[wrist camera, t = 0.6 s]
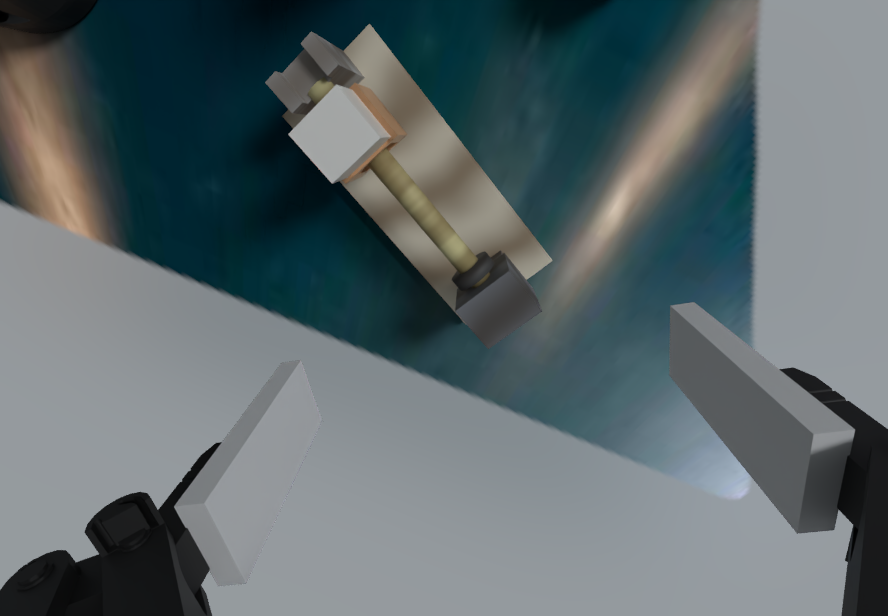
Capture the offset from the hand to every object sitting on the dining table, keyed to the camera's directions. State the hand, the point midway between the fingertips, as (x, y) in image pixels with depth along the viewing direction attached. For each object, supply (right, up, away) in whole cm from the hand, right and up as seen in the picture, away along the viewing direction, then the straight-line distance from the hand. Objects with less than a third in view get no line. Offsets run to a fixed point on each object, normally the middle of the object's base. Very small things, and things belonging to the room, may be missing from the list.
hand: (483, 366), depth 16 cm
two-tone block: (-7, +15, +17) cm, 24 cm away
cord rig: (-3, +13, +23) cm, 27 cm away
